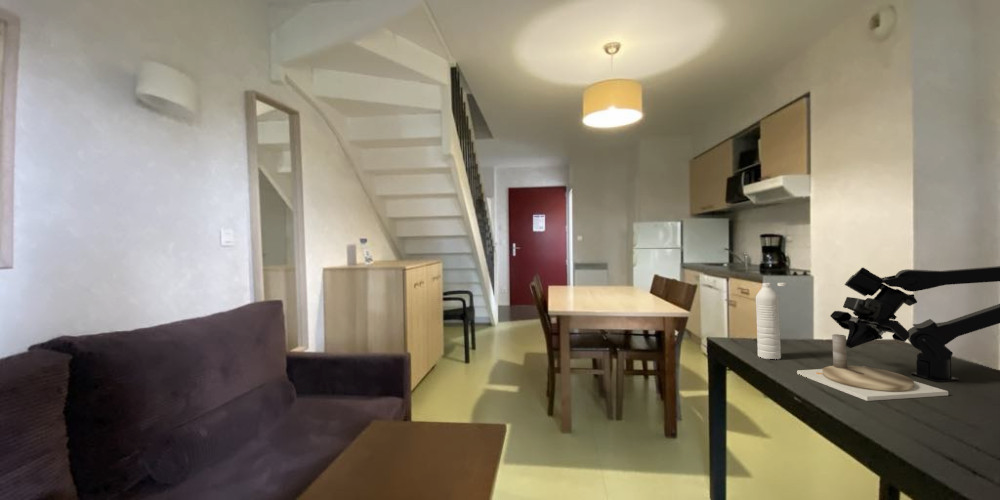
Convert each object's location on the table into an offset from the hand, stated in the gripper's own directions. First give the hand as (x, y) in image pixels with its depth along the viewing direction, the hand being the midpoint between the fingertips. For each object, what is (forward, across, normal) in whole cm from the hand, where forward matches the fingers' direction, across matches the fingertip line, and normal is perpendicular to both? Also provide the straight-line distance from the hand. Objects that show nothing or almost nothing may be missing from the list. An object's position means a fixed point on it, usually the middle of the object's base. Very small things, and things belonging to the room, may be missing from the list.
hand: (847, 346), depth 115 cm
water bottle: (+11, -20, +1) cm, 23 cm away
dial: (+6, +7, +4) cm, 10 cm away
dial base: (+7, +7, +4) cm, 11 cm away
